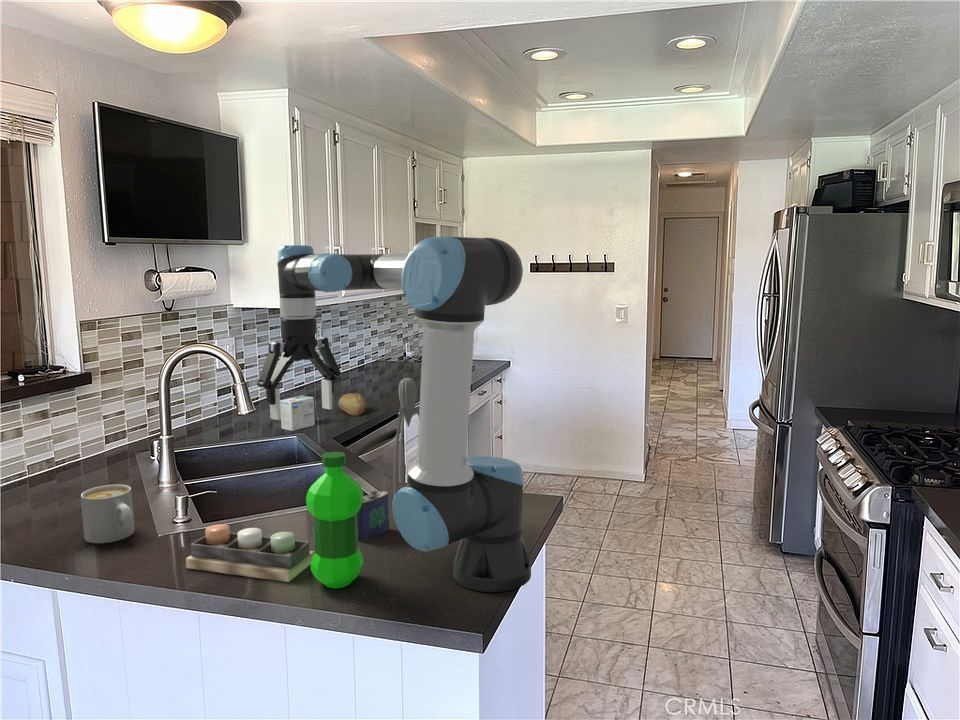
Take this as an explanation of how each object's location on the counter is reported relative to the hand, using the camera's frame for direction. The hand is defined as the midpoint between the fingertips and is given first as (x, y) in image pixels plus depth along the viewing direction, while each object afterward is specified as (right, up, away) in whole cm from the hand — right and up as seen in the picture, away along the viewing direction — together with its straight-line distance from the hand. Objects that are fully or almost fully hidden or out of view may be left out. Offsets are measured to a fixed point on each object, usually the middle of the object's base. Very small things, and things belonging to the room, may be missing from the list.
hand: (302, 413), depth 155 cm
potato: (-12, -10, +126) cm, 127 cm away
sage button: (0, -25, -16) cm, 30 cm away
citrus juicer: (+22, -23, +33) cm, 46 cm away
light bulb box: (-27, -13, +103) cm, 107 cm away
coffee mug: (-43, -28, +1) cm, 51 cm away
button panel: (-7, -29, -13) cm, 33 cm away
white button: (-7, -25, -14) cm, 29 cm away
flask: (+16, -27, +2) cm, 32 cm away
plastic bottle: (+12, -31, -21) cm, 39 cm away
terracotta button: (-14, -25, -12) cm, 31 cm away
